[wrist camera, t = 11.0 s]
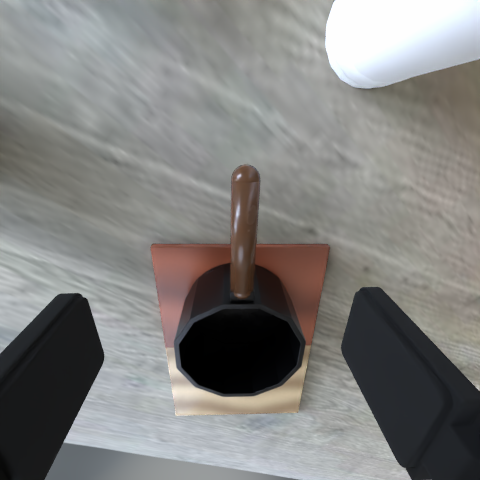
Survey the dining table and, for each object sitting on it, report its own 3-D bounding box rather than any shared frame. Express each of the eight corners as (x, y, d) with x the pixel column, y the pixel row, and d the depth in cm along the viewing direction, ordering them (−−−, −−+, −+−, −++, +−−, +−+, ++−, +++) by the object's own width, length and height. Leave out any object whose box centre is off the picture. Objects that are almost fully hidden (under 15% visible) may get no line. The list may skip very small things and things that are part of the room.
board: (152, 243, 26) (150, 247, 26) (327, 244, 27) (330, 247, 26) (176, 410, 38) (175, 416, 38) (296, 407, 39) (298, 412, 38)
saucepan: (174, 153, 22) (151, 164, 15) (308, 156, 22) (339, 168, 16) (190, 343, 31) (179, 398, 25) (283, 342, 32) (296, 395, 26)
